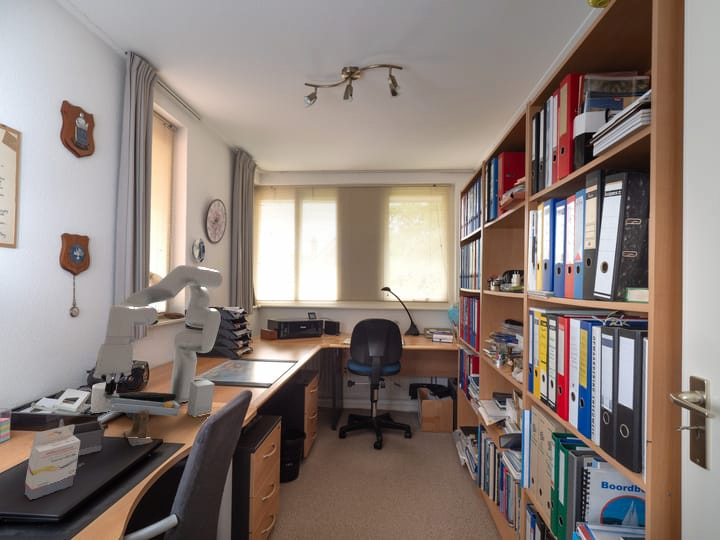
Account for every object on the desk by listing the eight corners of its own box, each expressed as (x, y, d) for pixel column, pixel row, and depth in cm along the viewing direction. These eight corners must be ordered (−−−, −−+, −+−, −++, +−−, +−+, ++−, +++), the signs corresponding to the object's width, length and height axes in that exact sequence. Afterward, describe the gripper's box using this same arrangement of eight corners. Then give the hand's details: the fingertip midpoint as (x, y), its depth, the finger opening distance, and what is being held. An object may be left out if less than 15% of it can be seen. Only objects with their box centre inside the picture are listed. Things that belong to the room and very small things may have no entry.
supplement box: (211, 414, 138) (215, 383, 139) (193, 418, 133) (197, 386, 134) (204, 408, 143) (208, 379, 144) (186, 412, 138) (190, 381, 139)
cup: (97, 440, 109) (101, 413, 109) (101, 451, 103) (105, 421, 104) (55, 449, 102) (60, 419, 102) (57, 461, 96) (62, 429, 96)
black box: (177, 393, 146) (159, 397, 127) (173, 415, 144) (153, 422, 125) (135, 390, 144) (109, 394, 125) (129, 412, 141) (102, 420, 122)
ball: (164, 410, 120) (172, 405, 122) (166, 413, 118) (175, 408, 120) (161, 403, 119) (169, 398, 121) (163, 406, 117) (172, 401, 119)
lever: (164, 403, 130) (168, 393, 131) (177, 416, 119) (181, 406, 120) (102, 397, 116) (106, 386, 116) (110, 411, 105) (115, 400, 106)
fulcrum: (143, 429, 120) (147, 400, 120) (152, 442, 111) (156, 411, 112) (123, 433, 116) (128, 402, 116) (131, 447, 107) (136, 414, 108)
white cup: (99, 416, 126) (103, 389, 127) (83, 412, 128) (87, 386, 128) (118, 409, 134) (122, 384, 134) (102, 405, 136) (106, 381, 136)
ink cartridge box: (29, 502, 79) (39, 439, 80) (22, 494, 81) (32, 433, 82) (74, 486, 86) (83, 428, 87) (66, 478, 89) (75, 422, 89)
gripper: (140, 338, 125) (132, 387, 123) (89, 339, 114) (80, 393, 113) (145, 341, 119) (137, 393, 118) (92, 343, 109) (83, 400, 108)
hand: (109, 393), depth 115 cm, fingers closed
